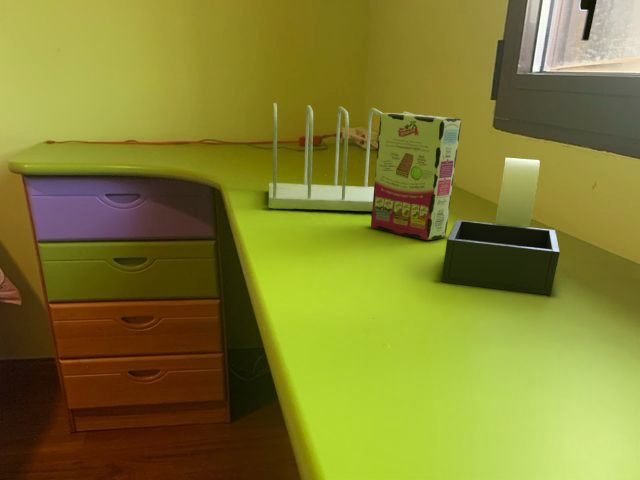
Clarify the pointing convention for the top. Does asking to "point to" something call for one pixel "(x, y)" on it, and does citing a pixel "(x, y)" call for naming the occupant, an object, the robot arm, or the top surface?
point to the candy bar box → (414, 174)
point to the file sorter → (322, 194)
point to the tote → (501, 257)
